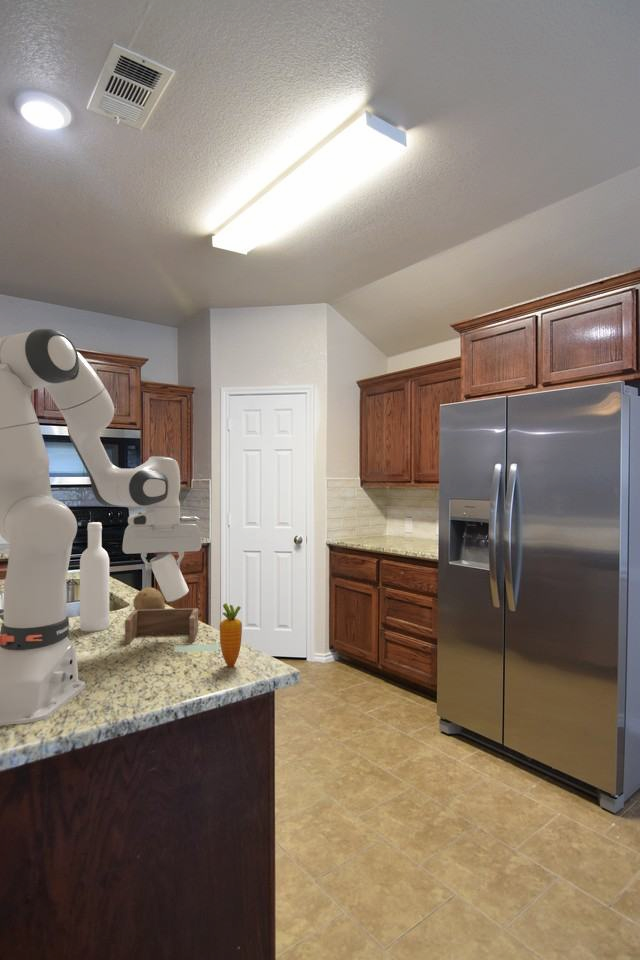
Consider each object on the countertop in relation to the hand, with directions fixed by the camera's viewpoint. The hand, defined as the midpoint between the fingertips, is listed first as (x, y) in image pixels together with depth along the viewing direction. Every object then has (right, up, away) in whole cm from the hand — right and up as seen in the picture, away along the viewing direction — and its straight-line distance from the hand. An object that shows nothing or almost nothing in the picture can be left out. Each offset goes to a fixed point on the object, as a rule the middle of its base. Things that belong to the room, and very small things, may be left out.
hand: (162, 569), depth 142 cm
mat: (+11, -19, -11) cm, 25 cm away
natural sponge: (-9, -19, +17) cm, 27 cm away
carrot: (+22, -19, -21) cm, 36 cm away
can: (+4, -8, +1) cm, 9 cm away
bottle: (-22, -19, +10) cm, 31 cm away
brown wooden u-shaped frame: (0, -19, +1) cm, 19 cm away
